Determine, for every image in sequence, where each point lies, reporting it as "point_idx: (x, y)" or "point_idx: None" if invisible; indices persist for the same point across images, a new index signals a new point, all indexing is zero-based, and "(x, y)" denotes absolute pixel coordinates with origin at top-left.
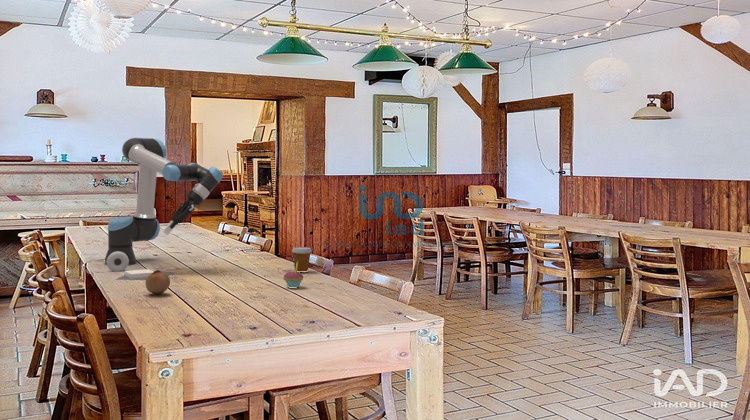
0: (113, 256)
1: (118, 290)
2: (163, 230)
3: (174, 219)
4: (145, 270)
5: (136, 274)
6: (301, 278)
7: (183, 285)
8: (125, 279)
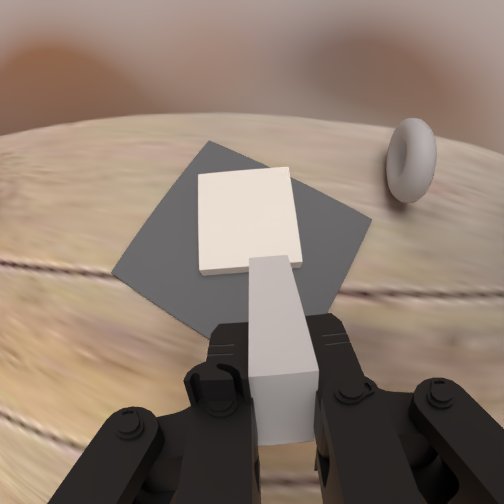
0: (403, 128)
1: (64, 142)
2: (274, 261)
3: (223, 414)
4: (269, 241)
5: (198, 194)
6: None
7: (25, 320)
8: (191, 165)
